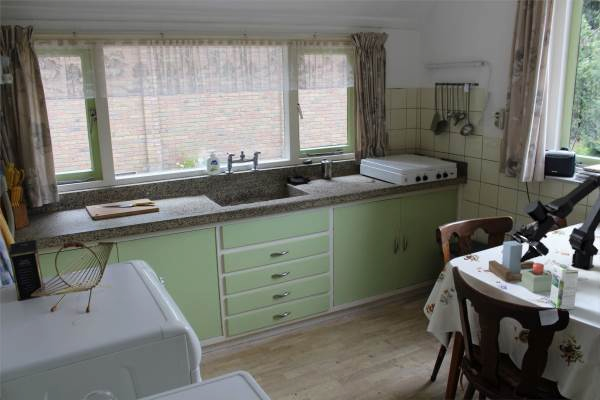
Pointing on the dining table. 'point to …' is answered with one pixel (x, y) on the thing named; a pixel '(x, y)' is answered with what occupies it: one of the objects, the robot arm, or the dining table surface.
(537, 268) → the gauge button
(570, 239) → the robot arm
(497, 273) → the bar
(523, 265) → the rails
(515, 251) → the pale blue upright block
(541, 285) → the pale green box
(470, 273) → the dining table surface
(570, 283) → the syrup box
